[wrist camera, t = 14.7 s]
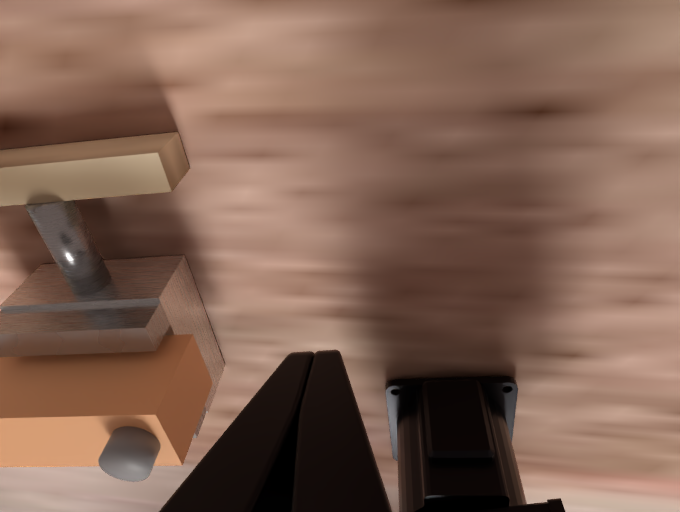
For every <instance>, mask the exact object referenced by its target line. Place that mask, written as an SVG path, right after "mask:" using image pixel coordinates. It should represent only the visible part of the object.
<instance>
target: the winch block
mask: <svg viewBox="0 0 680 512" xmlns="http://www.w3.org/2000/svg"><path fill="white" fill-rule="evenodd" d="M25 208H26V210H27V212H28V214H29V215H30V217H31V219H32V221H33V223H34V224H35V226H36V228H37V230H38V232H39V233H40V235H41V237H42V239H43V241H44V243H45V244H46V246H47V248H48V250H49V252H50V253H51V255H52V257H53V259H54V261H55V262H56V263H55V264H41V265H40V266H39V267H38V268H37V269H36V270H35V271H34V272H33V273H32V274H31V275H30V276H29V277H28V278H27V279H26V280H25V281H24V282H23V283H22V284H21V285H20V286H19V287H18V288H17V289H16V290H15V291H14V292H13V293H12V294H11V295H10V296H9V297H8V298H7V299H6V300H5V301H4V302H3V303H2V304H1V305H0V309H1V311H0V357H18V356H43V355H69V354H94V353H119V352H144V351H156V350H157V349H158V347H159V345H160V343H161V341H162V339H163V337H164V335H181V334H193V335H194V338H195V340H196V343H197V345H198V348H199V350H200V353H201V355H202V358H203V360H204V362H205V365H206V367H207V370H208V372H209V375H210V377H211V380H212V382H213V384H212V387H211V390H210V392H209V395H208V398H207V401H206V403H205V406H204V409H203V411H202V414H201V417H200V419H199V422H198V425H197V428H196V430H195V433H194V436H193V438H197V436H198V434H199V431H200V428H201V425H202V422H203V420H204V417H205V414H206V413H208V412H209V409H210V406H211V403H212V401H213V398H214V395H215V392H216V389H217V387H218V384H219V381H220V378H221V376H222V373H223V370H224V367H225V363H224V361H223V358H222V355H221V352H220V350H219V347H218V344H217V342H216V339H215V336H214V333H213V331H212V328H211V325H210V323H209V320H208V317H207V314H206V312H205V309H204V306H203V303H202V301H201V298H200V295H199V293H198V290H197V287H196V284H195V282H194V279H193V276H192V274H191V271H190V268H189V265H188V263H187V260H186V257H185V255H175V256H160V257H145V258H130V259H115V260H103V259H102V257H101V255H100V252H99V250H98V248H97V246H96V244H95V242H94V240H93V238H92V236H91V234H90V232H89V230H88V228H87V226H86V224H85V221H84V219H83V217H82V215H81V213H80V211H79V209H78V207H77V205H76V203H75V201H74V200H70V201H58V202H46V203H35V204H26V206H25Z"/></svg>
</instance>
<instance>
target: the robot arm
mask: <svg viewBox="0 0 680 512" xmlns="http://www.w3.org/2000/svg"><path fill="white" fill-rule="evenodd" d="M505 386H506V387H505ZM517 392H518V388H517V384H516V380H515V379H514V378H512V377H509V376H497V377H463V378H429V379H395V380H390V381H388V382H387V383H386V400H387V409H388V418H389V427H390V436H391V445H392V454H393V458H394V459H395V460H396V461H398V487H399V512H565V510H564V507H563V504H562V501H561V499H550V500H547V502H544V503H534V504H527V503H526V499H525V495H524V491H523V487H522V483H521V479H520V475H519V471H518V467H517V463H516V458H515V454H514V450H513V446H512V436H513V427H514V418H515V409H516V401H517ZM159 512H392V510H391V507H390V503H389V500H388V497H387V494H386V491H385V488H384V485H383V482H382V479H381V476H380V473H379V470H378V467H377V464H376V461H375V457H374V454H373V451H372V448H371V445H370V442H369V439H368V436H367V433H366V430H365V427H364V424H363V421H362V418H361V415H360V411H359V408H358V405H357V402H356V399H355V396H354V393H353V390H352V387H351V384H350V381H349V378H348V375H347V372H346V369H345V365H344V362H343V359H342V356H341V354H340V352H339V351H338V350H326V351H317V352H316V353H315V354H314V353H313V352H310V351H309V352H293V353H290V354H289V355H288V356H287V357H286V358H285V359H284V360H283V362H282V363H281V364H280V365H279V367H278V368H277V369H276V370H275V371H274V373H273V374H272V375H271V376H270V377H269V379H268V380H267V381H266V382H265V384H264V385H263V386H262V387H261V388H260V390H259V391H258V392H257V393H256V394H255V396H254V397H253V398H252V399H251V401H250V402H249V403H248V404H247V405H246V407H245V408H244V409H243V410H242V411H241V413H240V414H239V415H238V416H237V418H236V419H235V420H234V421H233V422H232V424H231V425H230V426H229V427H228V429H227V430H226V431H225V432H224V433H223V435H222V436H221V437H220V438H219V439H218V441H217V442H216V443H215V444H214V446H213V447H212V448H211V449H210V450H209V452H208V453H207V454H206V455H205V456H204V458H203V459H202V460H201V461H200V463H199V464H198V465H197V466H196V467H195V469H194V470H193V471H192V472H191V473H190V475H189V476H188V477H187V478H186V480H185V481H184V482H183V483H182V484H181V486H180V487H179V488H178V489H177V490H176V492H175V493H174V494H173V495H172V497H171V498H170V499H169V500H168V501H167V503H166V504H165V505H164V506H163V507H162V509H161V510H160V511H159Z"/></svg>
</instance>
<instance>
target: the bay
mask: <svg viewBox="0 0 680 512" xmlns="http://www.w3.org/2000/svg"><path fill="white" fill-rule="evenodd" d="M189 169H190V167H189V164H188V161H187V158H186V155H185V152H184V149H183V146H182V143H181V140H180V136H179V133H178V132H172V133H163V134H153V135H143V136H133V137H123V138H114V139H104V140H94V141H84V142H75V143H65V144H55V145H45V146H35V147H26V148H16V149H6V150H0V206H11V205H23V204H35V203H46V202H58V201H70V200H82V199H93V198H105V197H117V196H128V195H140V194H152V193H164V192H172V191H173V190H174V188H175V187H176V186H177V184H178V183H179V182H180V181H181V179H182V178H183V177H184V176H185V174H186V173H187V172H188V170H189Z"/></svg>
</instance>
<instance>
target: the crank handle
mask: <svg viewBox="0 0 680 512" xmlns="http://www.w3.org/2000/svg"><path fill="white" fill-rule="evenodd" d="M212 384H213V382H212V380H211V377H210V375H209V372H208V370H207V367H206V365H205V362H204V360H203V358H202V355H201V353H200V350H199V348H198V345H197V343H196V340H195V338H194V335H193V334H181V335H164V337H163V339H162V341H161V343H160V345H159V347H158V349H157V350H156V351H144V352H119V353H94V354H69V355H43V356H18V357H0V467H65V466H100V467H101V469H102V470H103V471H105V472H106V473H107V474H109V475H110V476H112V477H115V478H117V479H120V480H124V481H132V482H135V481H142V480H144V479H146V478H147V477H148V476H149V474H150V472H151V470H152V467H153V466H173V465H183V463H184V460H185V457H186V455H187V452H188V449H189V446H190V444H191V441H192V438H193V436H194V433H195V430H196V428H197V425H198V422H199V419H200V417H201V414H202V411H203V409H204V406H205V403H206V401H207V398H208V395H209V392H210V390H211V387H212Z"/></svg>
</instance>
